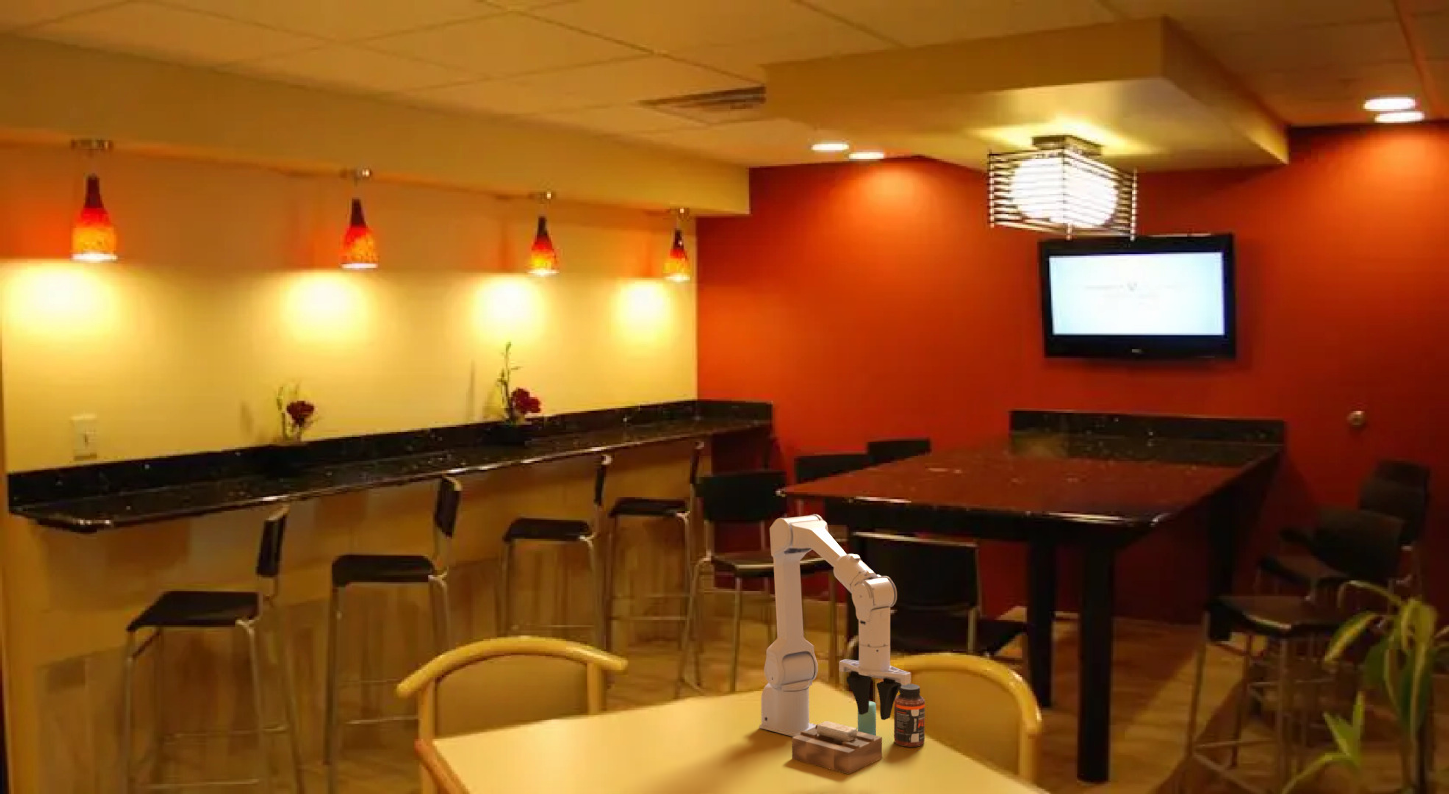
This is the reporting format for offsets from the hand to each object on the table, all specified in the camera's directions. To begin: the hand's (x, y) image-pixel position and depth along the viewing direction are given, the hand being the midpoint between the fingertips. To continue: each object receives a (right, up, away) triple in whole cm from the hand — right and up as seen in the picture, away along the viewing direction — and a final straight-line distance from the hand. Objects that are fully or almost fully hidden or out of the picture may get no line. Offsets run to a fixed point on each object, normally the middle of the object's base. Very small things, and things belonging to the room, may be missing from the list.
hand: (874, 715), depth 231 cm
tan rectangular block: (-6, -5, +6) cm, 10 cm away
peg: (+1, -9, +17) cm, 19 cm away
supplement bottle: (+9, -9, +14) cm, 19 cm away
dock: (-6, -10, +6) cm, 13 cm away
